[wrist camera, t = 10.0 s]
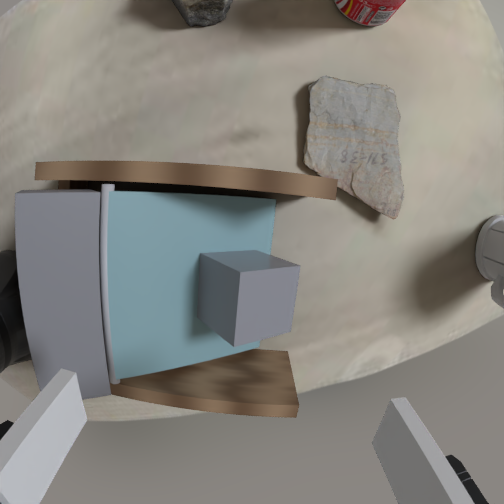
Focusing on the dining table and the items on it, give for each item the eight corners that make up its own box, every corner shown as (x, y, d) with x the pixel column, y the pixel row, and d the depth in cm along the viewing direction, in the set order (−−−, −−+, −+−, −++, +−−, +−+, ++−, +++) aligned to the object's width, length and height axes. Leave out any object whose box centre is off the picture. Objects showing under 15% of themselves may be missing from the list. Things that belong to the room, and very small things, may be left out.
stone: (392, 217, 32) (403, 219, 30) (300, 213, 32) (305, 215, 30) (392, 88, 29) (402, 82, 27) (302, 75, 29) (306, 67, 26)
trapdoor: (41, 375, 22) (45, 408, 18) (22, 183, 19) (15, 185, 15) (242, 339, 36) (270, 358, 32) (257, 192, 33) (291, 196, 29)
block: (196, 317, 28) (233, 347, 23) (200, 252, 27) (240, 272, 22) (249, 307, 32) (290, 331, 27) (255, 249, 30) (300, 265, 26)
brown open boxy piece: (81, 334, 34) (41, 373, 25) (78, 166, 30) (24, 163, 21) (285, 362, 35) (296, 417, 25) (311, 181, 31) (337, 179, 21)
